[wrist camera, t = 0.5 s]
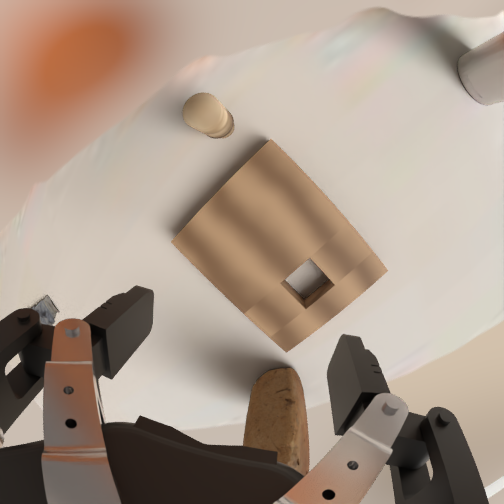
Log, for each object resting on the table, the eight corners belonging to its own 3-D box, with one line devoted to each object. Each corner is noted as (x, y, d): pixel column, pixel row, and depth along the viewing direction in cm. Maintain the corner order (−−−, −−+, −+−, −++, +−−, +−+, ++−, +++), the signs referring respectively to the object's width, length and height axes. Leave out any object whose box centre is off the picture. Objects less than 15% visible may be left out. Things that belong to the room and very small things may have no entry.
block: (251, 369, 43) (230, 470, 24) (296, 359, 41) (297, 465, 22) (270, 411, 45) (259, 502, 26) (310, 403, 44) (314, 498, 24)
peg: (223, 107, 33) (201, 85, 23) (243, 126, 33) (228, 108, 24) (202, 128, 34) (174, 113, 24) (222, 147, 34) (200, 137, 25)
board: (272, 142, 34) (270, 138, 31) (381, 263, 36) (388, 270, 33) (179, 237, 38) (170, 241, 35) (286, 341, 41) (286, 352, 38)
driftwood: (52, 292, 45) (45, 296, 43) (67, 321, 47) (61, 325, 45) (18, 314, 50) (12, 317, 48) (30, 337, 51) (25, 341, 49)
